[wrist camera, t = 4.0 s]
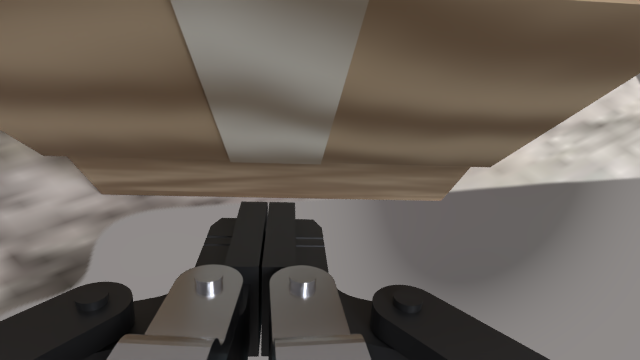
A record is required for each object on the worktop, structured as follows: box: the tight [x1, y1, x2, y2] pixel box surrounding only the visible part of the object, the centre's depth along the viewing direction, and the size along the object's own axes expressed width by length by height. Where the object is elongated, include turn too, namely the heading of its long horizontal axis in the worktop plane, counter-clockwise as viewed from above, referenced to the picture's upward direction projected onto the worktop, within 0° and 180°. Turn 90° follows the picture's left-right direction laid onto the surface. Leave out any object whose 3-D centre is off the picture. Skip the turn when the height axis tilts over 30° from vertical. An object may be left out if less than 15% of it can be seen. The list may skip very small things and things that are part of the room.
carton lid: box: [0, 0, 640, 167], centre depth 18 cm, size 14×25×1 cm
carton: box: [67, 156, 470, 201], centre depth 31 cm, size 14×24×7 cm, turn 91°
